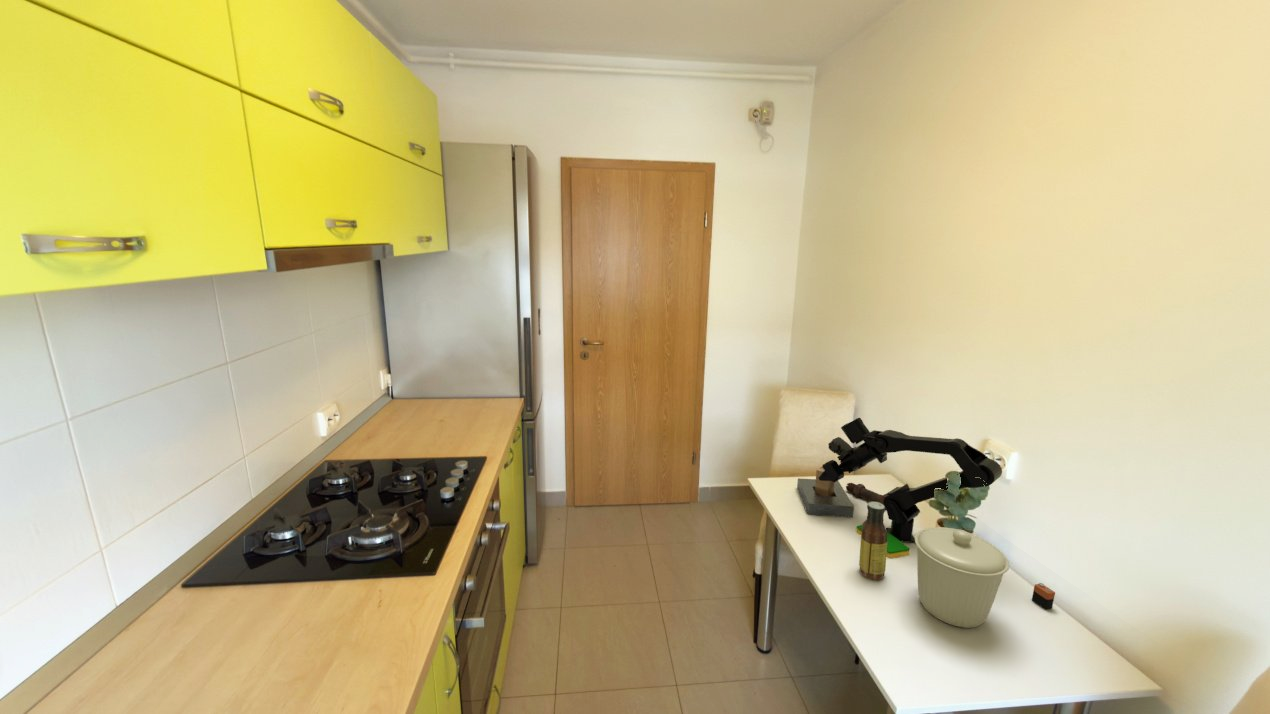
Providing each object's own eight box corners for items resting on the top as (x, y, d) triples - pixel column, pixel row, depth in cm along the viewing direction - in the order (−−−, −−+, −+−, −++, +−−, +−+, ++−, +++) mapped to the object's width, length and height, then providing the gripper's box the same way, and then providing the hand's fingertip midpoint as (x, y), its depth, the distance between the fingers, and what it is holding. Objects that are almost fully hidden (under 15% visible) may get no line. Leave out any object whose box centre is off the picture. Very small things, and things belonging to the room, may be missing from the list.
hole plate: (853, 517, 152) (854, 506, 151) (808, 514, 154) (809, 503, 153) (837, 490, 170) (838, 480, 169) (797, 488, 171) (797, 478, 171)
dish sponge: (874, 529, 146) (875, 522, 146) (909, 556, 133) (910, 548, 133) (855, 532, 145) (855, 525, 144) (888, 559, 132) (889, 552, 131)
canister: (1003, 610, 112) (1018, 531, 108) (990, 655, 100) (1006, 567, 95) (918, 575, 125) (928, 502, 120) (897, 611, 112) (907, 531, 108)
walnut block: (826, 506, 159) (829, 474, 156) (813, 501, 162) (816, 469, 160) (832, 502, 162) (835, 470, 159) (820, 497, 165) (823, 465, 163)
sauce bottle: (887, 572, 126) (895, 505, 122) (880, 584, 121) (888, 514, 117) (861, 562, 130) (868, 496, 126) (853, 573, 126) (861, 505, 121)
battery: (1038, 599, 116) (1041, 581, 115) (1052, 608, 113) (1056, 590, 112) (1030, 600, 115) (1034, 582, 114) (1045, 610, 112) (1049, 592, 111)
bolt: (848, 495, 170) (888, 513, 158) (841, 491, 168) (881, 509, 155) (854, 480, 171) (895, 496, 158) (847, 476, 168) (887, 493, 155)
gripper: (860, 426, 157) (827, 447, 168) (830, 439, 146) (797, 461, 157) (882, 456, 153) (847, 475, 164) (852, 472, 142) (816, 491, 153)
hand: (827, 475), depth 159 cm, fingers open, 9 cm apart
